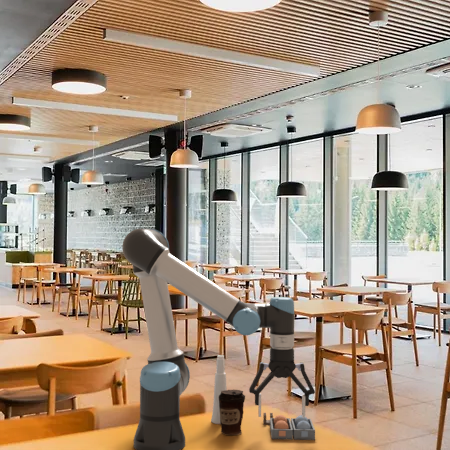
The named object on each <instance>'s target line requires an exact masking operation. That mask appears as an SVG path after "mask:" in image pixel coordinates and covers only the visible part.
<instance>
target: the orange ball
mask: <svg viewBox="0 0 450 450" xmlns="http://www.w3.org/2000/svg"><path fill="white" fill-rule="evenodd" d="M274 429H289V427H288V424H287V423H286V422H285V421H282V420H281V421H278V422H277V423H276V424H275V427H274Z"/></svg>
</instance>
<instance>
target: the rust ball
mask: <svg viewBox="0 0 450 450" xmlns="http://www.w3.org/2000/svg"><path fill="white" fill-rule="evenodd" d="M273 418H274V426H275V424H276V423H277V422H278V421H281V420H282V421H285V422H286V423H287V419H286V416H284V415H282V414H278V415H276V416H275V417H273Z"/></svg>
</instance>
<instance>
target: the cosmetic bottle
mask: <svg viewBox="0 0 450 450" xmlns="http://www.w3.org/2000/svg"><path fill="white" fill-rule="evenodd" d="M215 364H216V367H215V368H216V372H215V374H214V387H213V389H214V390H213V403H212V404H213V405H212V414H211V420H210V421H211V423H213V424H216V425H221V423H220V409H219V395H220V394H221V391H225V390H228V388H227V373H226V372H225V370H226V368H225V367H226V365H225V364H226V359H225V355H224V354H220V355H219V354H218V355H217V358H216V363H215Z"/></svg>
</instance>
